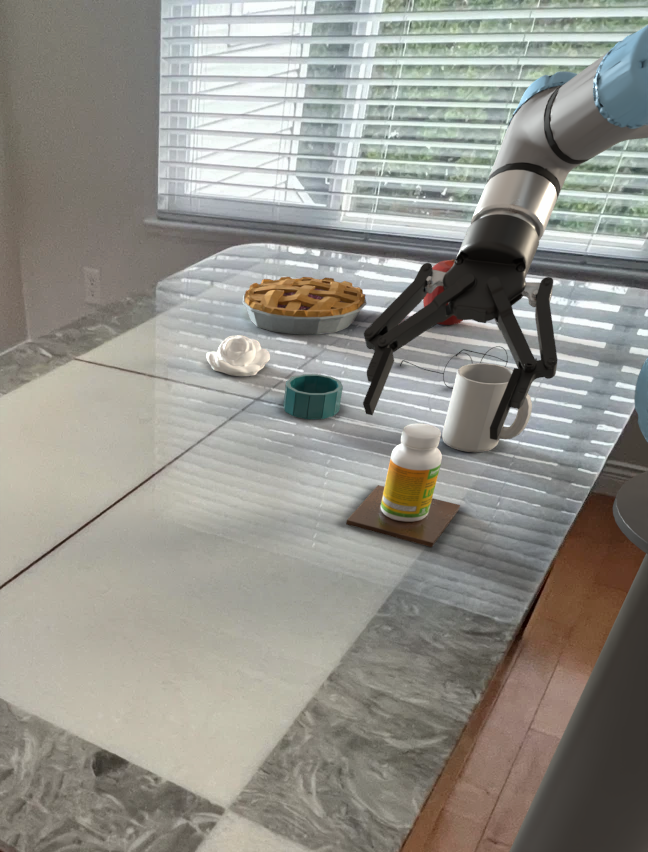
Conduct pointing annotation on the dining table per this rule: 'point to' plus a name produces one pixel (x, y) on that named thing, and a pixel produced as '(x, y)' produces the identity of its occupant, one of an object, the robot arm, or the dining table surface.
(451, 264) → the apple
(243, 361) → the rose
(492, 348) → the eyeglasses
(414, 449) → the supplement bottle
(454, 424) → the cup
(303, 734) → the dining table surface
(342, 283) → the pie
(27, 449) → the dining table surface
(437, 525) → the coaster
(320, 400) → the teal bowl
